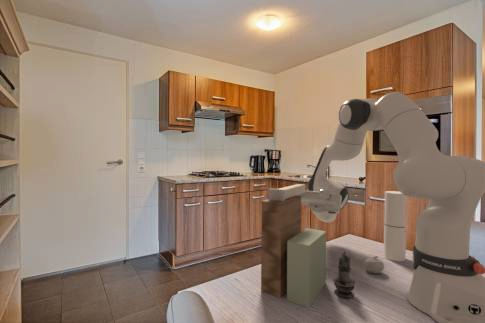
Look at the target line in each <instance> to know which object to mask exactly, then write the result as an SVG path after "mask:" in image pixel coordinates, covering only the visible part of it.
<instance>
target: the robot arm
mask: <svg viewBox="0 0 485 323" xmlns="http://www.w3.org/2000/svg"><path fill="white" fill-rule="evenodd" d="M338 120H339V123H338V125H337V127H336V132H335V133H334V134H335V135H334V138H333V140H332V143H330V144H328V145H326V146H325V147H324V149H323V150H322V152H321V153H320V156H319V159H318V161H317V163H316V166H315V168H314V171H313V173H312V175H311V176H310V178H309V180H308V183H307V190H305V193H303V194H300V195H297V196H301V205H307V208H309V210H310V211H311V212H312V213H313V214H314V215H315V217H316V218H317V219H318V220H319V221H321V222H323V223H327V224H328V223H332V222H334V221H335V220H336V218H337V216H338V214H340V212H341V211H342V210H343V209H344V208H345V206H346V205H347V203H348V202H349V199H350V197H349V196H350V194H349V190H348V187H346V186H345V185H342V184H340V183H338V182H336V181H333V180H331V179H329V178H328V177H327V176H326V174H327V170H328V168H329V166H330V165H331V162H332V161H342V162H343V161H349V160H352V159H355V158H356V157H358V156H359V155H360V153H361V152H362V149H363V146H364V144H365V143H364V142H365V138H366V134H367V132H368V131H370V132H374V131H381V130H383V131H384V133H385V135H386V136H387V138H388V140H389V141H390V142H391V145H392V146H393V148H394V149H395V151H396V153H397V158H398V164H397V165H396V167H395V169H394V171H393V182H394V185H395V187H396V189H397V191H398V192H401V193H402V194H404V195H406V196H407V197H409V198H414V199H418V200H419V199H420V200H424V201H425V200H429V201H428V203H427V205H426V207H425V208H424V210H423V211H422V212H420V214H418V215H417V217H416V220H415V243H414V244H415V245H414V246H413V249H412V267H413V274H412V279H411V284H410V287H409V289H408V292H407V295H406V299H407V300H408V302H409V303H410V305H411V304H412V306H413V307H415V308H417V309H418V310H420V311H421V312H423V313H425V314H427V315H428V316H430V317H431V318H432V319H433V320H434V321H436V322H437V323H485V276H484V275H485V266H484V265H483V264H482V263H481V262H480V261H479V260H478V259H476V257H475V256H471V255H470V238H471V227H472V222H473V218H474V216H475V213H476V211H477V208H478V205H479V203H480V201H481V199H482V197H483V195H484V194H485V161H484V160H480V159H478V158H475V157H470V156H466V155H446V154H444V153H442V152H441V151H440V150H439V148H438V145H437V143H436V142H437V140H438V138H439V131H438V129H437V128H436V126H435V125H434V124H433V122H432V121H431V120H430V119H429V118H428V116H427V115H426V114H425V113H424V111H422V109H421V108H420V107H419V106H418V104H417V103H415V102H414V100H412V99H411V98H409V97H408V96H407V95H406V94H404V93H402V92H401V91H400V92H399V91H393V92H389V93H386V94H385V95H382V96H381V97H380V98H360V99H359V98H353V99H349V100H348V99H347V100H346V101H344V102H343V103H342V105H341V106H340V108H339V112H338Z"/></svg>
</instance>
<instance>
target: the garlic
mask: <svg viewBox="0 0 485 323" xmlns="http://www.w3.org/2000/svg"><path fill="white" fill-rule="evenodd" d="M378 258H379V256H377V255H376V256H374V257H369V258H366V259H365V260H364V262H363V265H364V270H366V271H367V273H371V274H379V273H382V271H384V268H385V266H384V265H385V264H384V263H383V262H384V261H382V260H379V259H378Z"/></svg>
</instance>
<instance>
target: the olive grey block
mask: <svg viewBox="0 0 485 323" xmlns="http://www.w3.org/2000/svg"><path fill="white" fill-rule="evenodd" d="M326 266H327V231H325V230H320V229H314V228H309V227H306V228H305V229H303V230H301V232H300V233H299V234H297V235H296V236H294V237H293V238H291V239H290V240H288V241H287V291H286V301H287V302H288V301H289V302H291V303H295V304H297V305H300V306H303V307H306V308H310V306H311V305H312V303H313V302H314V301H315V299H316V298H317V296H318V295H319V293H320V292H321V291H322V290H323V288H324V286H325V285H326V281H327V278H326V276H327V269H326V268H327V267H326Z"/></svg>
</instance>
